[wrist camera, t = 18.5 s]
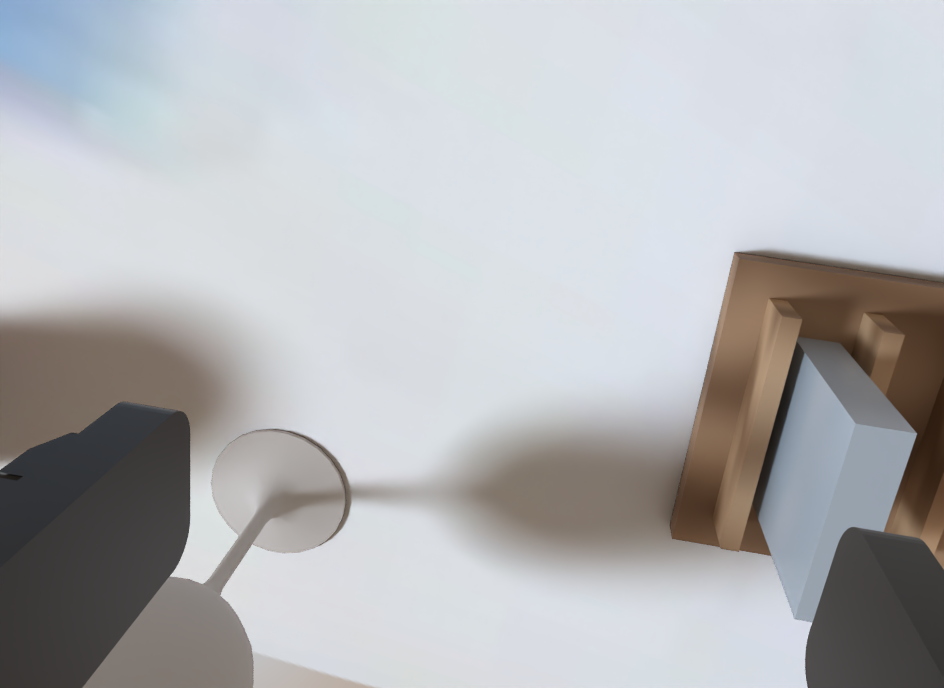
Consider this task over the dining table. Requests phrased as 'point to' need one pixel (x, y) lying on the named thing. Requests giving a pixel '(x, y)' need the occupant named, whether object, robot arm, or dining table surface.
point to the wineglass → (230, 566)
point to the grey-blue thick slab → (826, 466)
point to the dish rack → (763, 378)
